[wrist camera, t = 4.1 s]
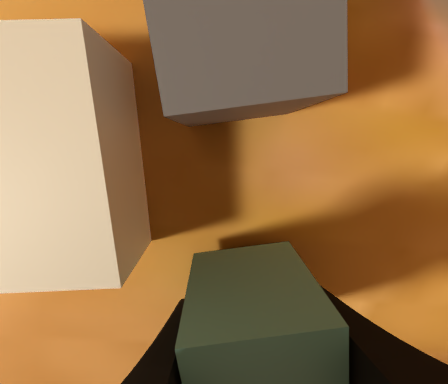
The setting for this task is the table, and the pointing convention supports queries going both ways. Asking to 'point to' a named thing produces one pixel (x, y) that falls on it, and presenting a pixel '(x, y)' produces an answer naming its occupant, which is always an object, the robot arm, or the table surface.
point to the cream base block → (68, 160)
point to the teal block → (259, 321)
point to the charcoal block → (246, 56)
